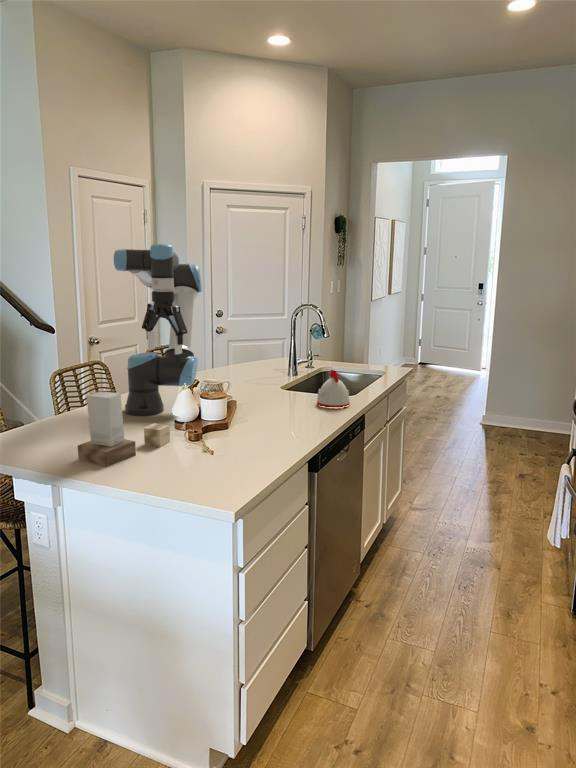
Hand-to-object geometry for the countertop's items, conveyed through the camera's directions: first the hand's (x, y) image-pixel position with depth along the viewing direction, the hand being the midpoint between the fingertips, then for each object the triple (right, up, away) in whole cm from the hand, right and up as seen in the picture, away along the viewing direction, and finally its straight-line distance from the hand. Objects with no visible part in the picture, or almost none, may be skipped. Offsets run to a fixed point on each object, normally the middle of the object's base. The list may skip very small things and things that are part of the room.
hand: (164, 351), depth 206 cm
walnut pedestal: (-13, -34, -24) cm, 44 cm away
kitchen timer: (+63, -21, +45) cm, 80 cm away
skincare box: (-13, -30, -25) cm, 41 cm away
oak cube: (0, -31, -10) cm, 33 cm away
